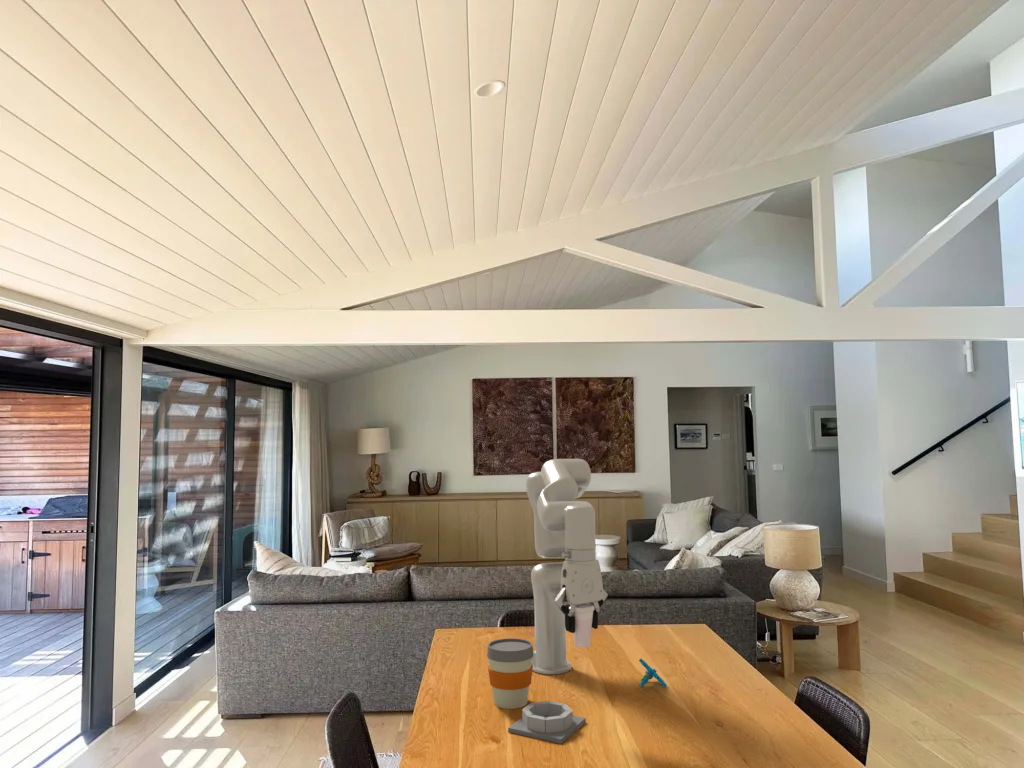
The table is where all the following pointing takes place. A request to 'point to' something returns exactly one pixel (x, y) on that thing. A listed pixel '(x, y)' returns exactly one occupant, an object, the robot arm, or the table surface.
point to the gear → (650, 675)
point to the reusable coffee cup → (510, 671)
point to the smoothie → (583, 624)
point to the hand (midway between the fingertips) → (581, 628)
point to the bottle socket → (547, 721)
